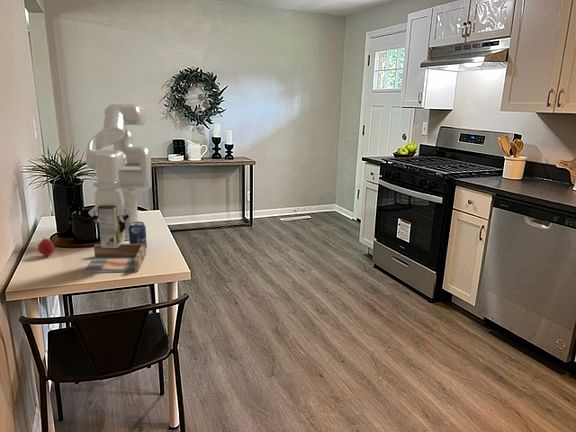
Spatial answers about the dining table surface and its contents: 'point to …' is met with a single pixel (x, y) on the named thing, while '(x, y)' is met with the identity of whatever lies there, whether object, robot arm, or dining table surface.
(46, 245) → the onion
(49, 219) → the dining table surface
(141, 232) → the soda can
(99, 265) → the corner arena
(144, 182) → the robot arm
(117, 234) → the coffee box
